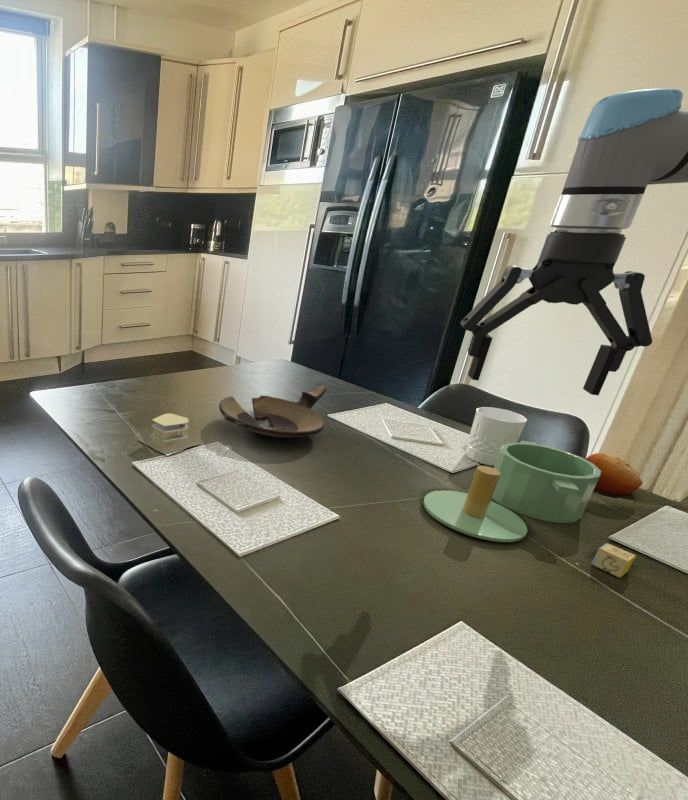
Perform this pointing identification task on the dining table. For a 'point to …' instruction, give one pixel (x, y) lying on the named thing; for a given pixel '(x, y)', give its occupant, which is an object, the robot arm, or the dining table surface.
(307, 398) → the broken brown bowl
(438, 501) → the lid
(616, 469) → the fruit
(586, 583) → the dining table surface
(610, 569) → the alphabet block
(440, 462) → the dining table surface
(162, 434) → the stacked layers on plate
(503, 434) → the white cup
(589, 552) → the dining table surface
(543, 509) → the pot
